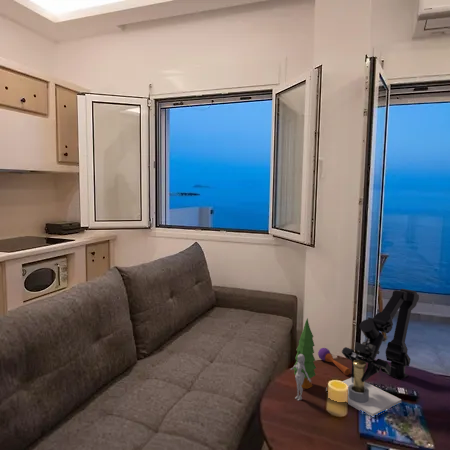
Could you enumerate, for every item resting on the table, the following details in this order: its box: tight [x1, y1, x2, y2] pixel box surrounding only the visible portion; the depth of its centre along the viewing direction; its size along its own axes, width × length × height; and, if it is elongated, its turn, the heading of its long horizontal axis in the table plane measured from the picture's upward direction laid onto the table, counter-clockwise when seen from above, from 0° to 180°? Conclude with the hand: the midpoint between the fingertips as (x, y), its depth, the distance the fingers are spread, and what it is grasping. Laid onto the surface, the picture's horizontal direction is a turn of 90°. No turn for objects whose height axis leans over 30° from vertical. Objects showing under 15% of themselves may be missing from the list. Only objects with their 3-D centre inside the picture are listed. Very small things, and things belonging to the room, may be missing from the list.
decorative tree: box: [292, 317, 317, 390], centre depth 157 cm, size 10×9×30 cm
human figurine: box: [290, 354, 312, 401], centre depth 147 cm, size 12×4×18 cm, turn 28°
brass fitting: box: [353, 360, 367, 393], centre depth 145 cm, size 5×5×13 cm
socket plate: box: [325, 377, 402, 416], centre depth 148 cm, size 18×22×5 cm
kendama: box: [317, 347, 352, 376], centre depth 176 cm, size 6×6×20 cm
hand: (357, 379), depth 144 cm, fingers closed on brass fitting, 4 cm apart
